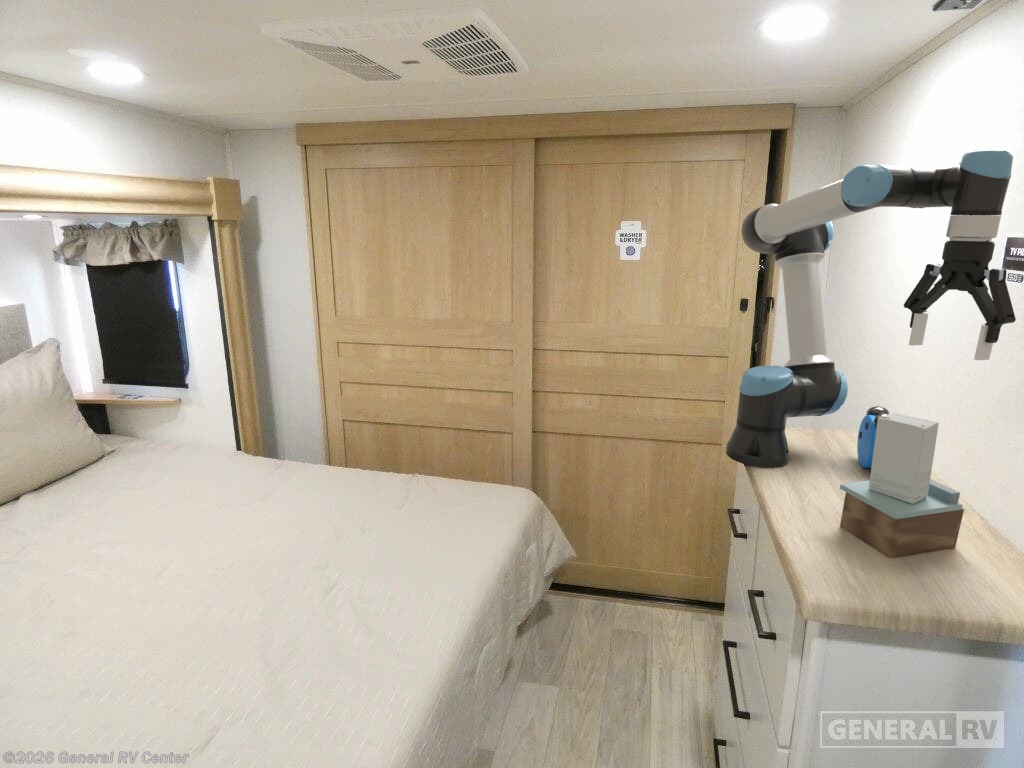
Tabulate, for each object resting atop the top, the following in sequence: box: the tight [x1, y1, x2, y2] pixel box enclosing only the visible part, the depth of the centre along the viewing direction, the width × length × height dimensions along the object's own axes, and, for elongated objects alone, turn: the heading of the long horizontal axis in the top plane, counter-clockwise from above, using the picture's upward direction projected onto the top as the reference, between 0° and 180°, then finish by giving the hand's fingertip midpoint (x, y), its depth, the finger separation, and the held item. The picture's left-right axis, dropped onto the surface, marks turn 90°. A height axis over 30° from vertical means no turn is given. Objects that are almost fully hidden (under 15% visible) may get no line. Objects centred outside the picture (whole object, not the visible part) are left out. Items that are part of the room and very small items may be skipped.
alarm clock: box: [856, 405, 890, 469], centre depth 146 cm, size 13×6×15 cm, turn 163°
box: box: [839, 492, 965, 559], centre depth 114 cm, size 12×15×8 cm
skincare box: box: [869, 412, 940, 504], centre depth 110 cm, size 8×6×15 cm
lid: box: [839, 478, 963, 519], centre depth 112 cm, size 13×15×3 cm
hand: (946, 352), depth 115 cm, fingers open, 13 cm apart
